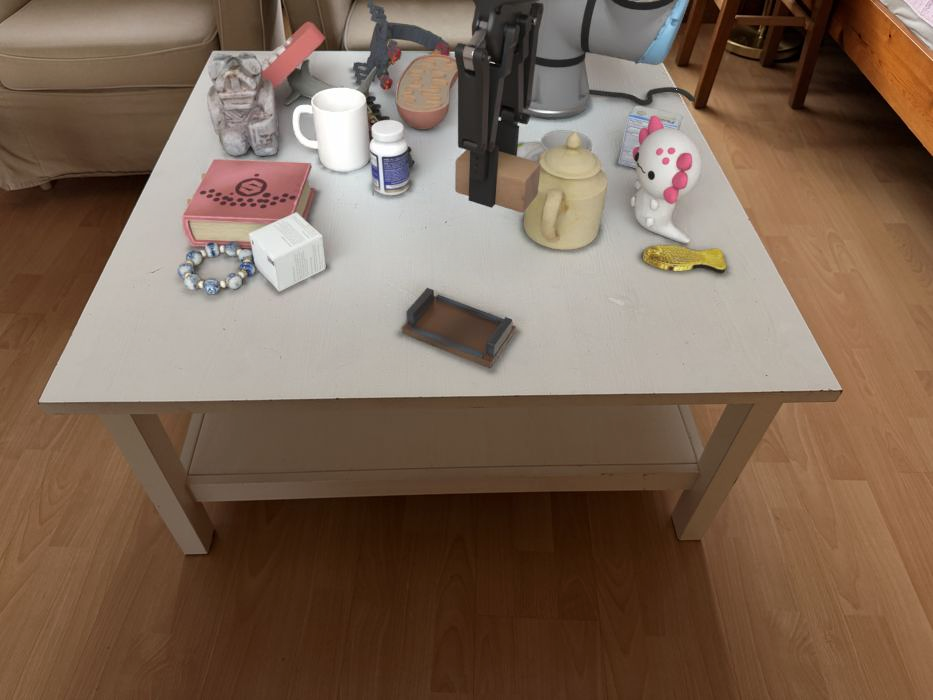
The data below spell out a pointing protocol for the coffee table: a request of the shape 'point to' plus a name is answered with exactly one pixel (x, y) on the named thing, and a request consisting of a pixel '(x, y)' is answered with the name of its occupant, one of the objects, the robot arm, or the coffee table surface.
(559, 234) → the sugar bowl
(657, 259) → the decorative item
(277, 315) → the coffee table surface
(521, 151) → the pebble
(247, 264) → the bracelet
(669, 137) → the toy
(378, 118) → the toy train
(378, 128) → the pill bottle
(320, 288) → the coffee table surface
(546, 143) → the cup
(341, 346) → the coffee table surface
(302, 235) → the product carton
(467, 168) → the wooden block
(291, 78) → the shark figurine
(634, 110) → the medicine box
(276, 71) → the plaque
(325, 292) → the coffee table surface
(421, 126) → the mitochondrion model
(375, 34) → the toy
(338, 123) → the cup
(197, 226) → the book
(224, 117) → the figurine
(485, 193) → the robot arm
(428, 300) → the pad mount
